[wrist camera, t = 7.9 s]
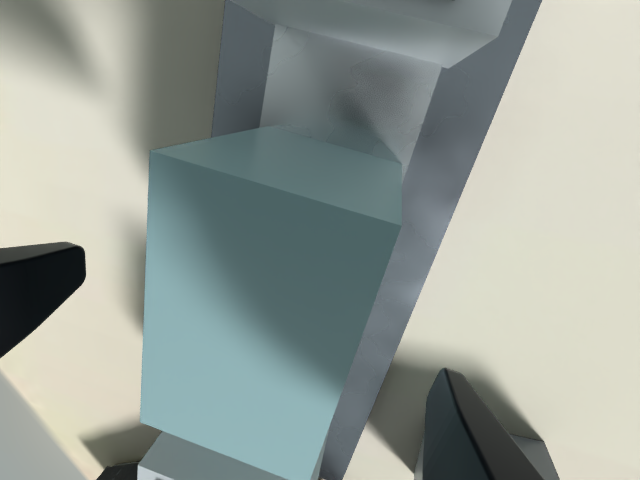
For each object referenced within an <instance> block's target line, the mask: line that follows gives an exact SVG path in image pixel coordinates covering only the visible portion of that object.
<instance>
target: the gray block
mask: <svg viewBox="0 0 640 480" xmlns="http://www.w3.org/2000/svg"><path fill="white" fill-rule="evenodd" d="M424 432H425V431H424ZM509 435H510V436H511V437H512V438H513V440H514V441H515V442H516V444H517V445H518V446H519V447H520V449H521V450H522V451H523V453H524V454H525V455H526V456H527V458H528V459H529V460H530V462H531V463H532V464H533V465H534V467H535V468H536V469H537V470H538V472H539V473H540V474H541V476H542V477H543V478H544V479H545V480H560V479H559V477H558V474H557V472H556V469H555V467H554V464H553V462H552V460H551V457H550V455H549V452H548V450H547V447H546V445H545V443H544V441H539V440H535V439H530V438H525V437H521V436H516V435H511V434H509ZM423 448H424V435H423V439H422V443H421V447H420V451H419V455H418V460H417V464H416V468H415V472H414V480H423V479H422V468H423Z"/></svg>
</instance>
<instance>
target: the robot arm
mask: <svg viewBox="0 0 640 480" xmlns="http://www.w3.org/2000/svg"><path fill="white" fill-rule="evenodd" d="M85 277H86V263H85V251H84V249H83V248H82V247H81V246H78V245H75V244H72V243H69V242H57V243H47V244H38V245H28V246H18V247H9V248H0V358H1V357H3V356H4V355H5V354H6V353H8V352H9V351H10V350H11V349H12V348H14V347H15V346H16V345H17V344H19V343H20V342H21V341H22V340H23V339H25V338H26V337H27V336H28V335H29V334H31V333H32V332H33V331H34V330H35V329H36V328H37V327H38V326H40V325H41V324H42V323H43V322H44V321H45V320H46V319H47V318H48V317H49V316H50V315H51V314H52V313H53V312H54V311H55V310H56V309H57V308H58V307H59V306H60V305H61V304H62V303H63V302H64V301H65V300H66V299H67V298H69V297H70V296H71V295H72V294H73V293H74V292H75V291H76V290H77V289H78V288H79V287H80V286H81V285H82V284H83V282H84V280H85ZM422 479H423V480H545V479H544V478H543V477H542V476H541V474H540V473H539V472H538V470H537V469H536V468H535V467H534V465H533V464H532V463H531V462H530V460H529V459H528V458H527V456H526V455H525V454H524V453H523V451H522V450H521V449H520V447H519V446H518V445H517V444H516V442H515V441H514V440H513V438H512V437H511V436H510V435H509V433H508V432H507V431H506V429H505V428H504V427H503V426H502V424H501V423H500V422H499V420H498V419H497V418H496V417H495V415H494V414H493V413H492V412H491V410H490V409H489V408H488V406H487V405H486V404H485V403H484V401H483V400H482V399H481V397H480V396H479V395H478V394H477V392H476V391H475V390H474V388H473V387H472V386H471V385H470V383H469V382H468V381H467V379H466V378H465V377H464V376H463V375H462V374H461V373H460V372H457V371H454V370H451V369H448V368H442V369H441V370H440V372H439V373H438V375H437V377H436V379H435V381H434V383H433V385H432V387H431V389H430V391H429V394H428V397H427V402H426V415H425V432H424V448H423V468H422Z"/></svg>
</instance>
